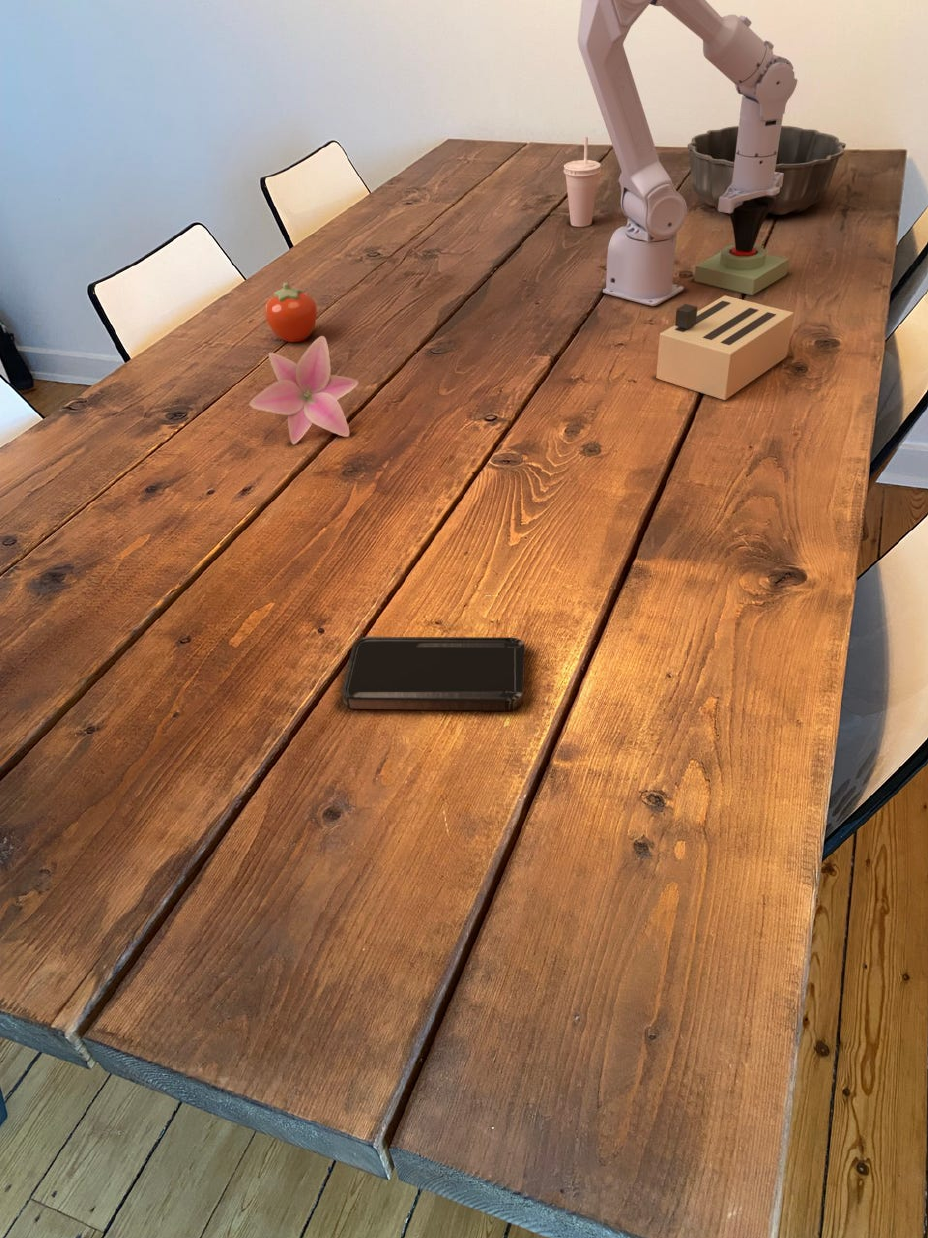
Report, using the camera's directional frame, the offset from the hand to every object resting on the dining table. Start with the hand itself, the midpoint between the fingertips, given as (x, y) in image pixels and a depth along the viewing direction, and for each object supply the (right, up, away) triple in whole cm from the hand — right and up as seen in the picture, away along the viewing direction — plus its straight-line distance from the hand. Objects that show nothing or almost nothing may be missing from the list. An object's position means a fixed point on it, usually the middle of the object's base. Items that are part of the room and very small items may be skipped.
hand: (743, 249), depth 142 cm
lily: (-61, -32, -25) cm, 73 cm away
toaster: (-9, -23, -20) cm, 32 cm away
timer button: (0, -1, +1) cm, 2 cm away
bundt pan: (+11, +20, +29) cm, 37 cm away
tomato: (-66, -15, -4) cm, 68 cm away
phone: (-44, -60, -61) cm, 97 cm away
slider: (-14, -19, -24) cm, 34 cm away
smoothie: (-21, +15, +26) cm, 37 cm away
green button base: (0, -3, +3) cm, 4 cm away
